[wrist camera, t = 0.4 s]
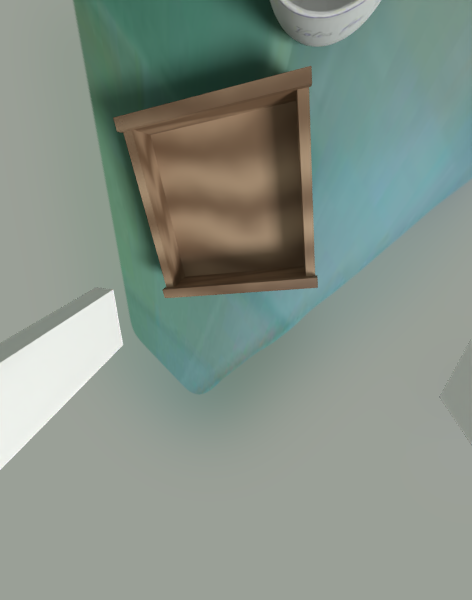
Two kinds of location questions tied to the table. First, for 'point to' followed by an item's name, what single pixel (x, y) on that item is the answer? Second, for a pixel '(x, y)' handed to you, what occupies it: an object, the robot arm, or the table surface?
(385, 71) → the table surface
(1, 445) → the robot arm
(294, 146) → the crate
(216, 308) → the table surface
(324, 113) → the table surface
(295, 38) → the teacup
